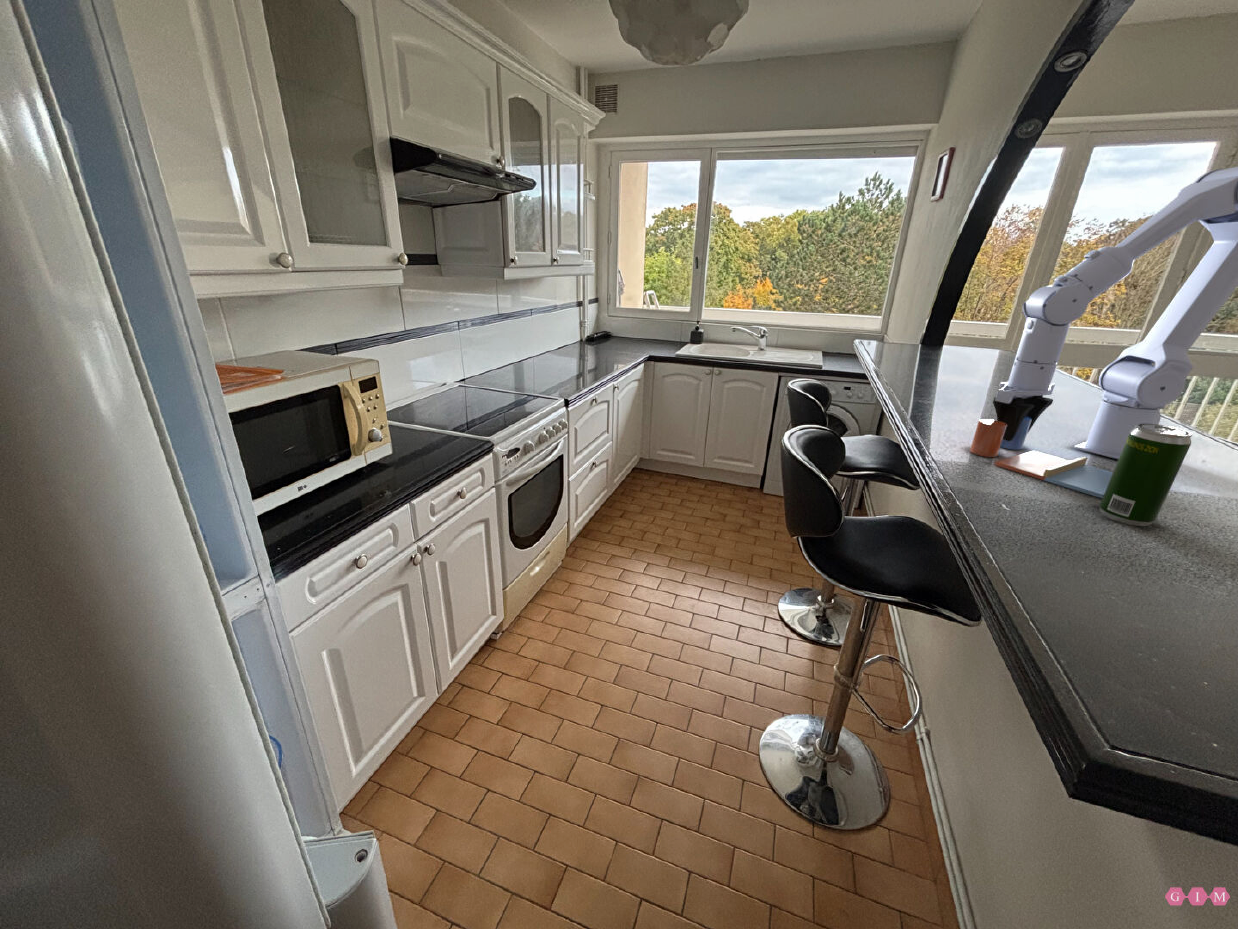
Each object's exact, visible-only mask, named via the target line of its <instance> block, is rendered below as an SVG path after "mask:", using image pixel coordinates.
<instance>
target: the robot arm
mask: <svg viewBox="0 0 1238 929" xmlns="http://www.w3.org/2000/svg"><path fill="white" fill-rule="evenodd" d="M1195 222H1199V223H1200V224H1201V225H1202V226H1203V227H1204V228H1205V229H1206V230H1207V231H1208V232H1209V233H1210V235H1211V237H1212V239H1213V244H1212V245H1211V246H1210V248H1209V249H1208V250H1207V252H1206V253H1205V255H1203V257H1202V259H1201V260H1200V261H1199V263H1198V265H1197V266H1196V267H1195V268H1194V269H1193V271H1192V273H1191V274H1190V275H1189V276H1188V278H1187V279H1186V281H1185V282H1184V284H1183V285H1182V287H1181V288H1180V289H1179V291H1178V292H1177V293H1176V295H1175V296H1174V297H1173V298H1172V300H1171V302H1170V303H1169V304H1168V305H1167V307H1166V308H1165V310H1164V311H1163V313H1162V314H1161V315H1160V317H1159V318H1158V320H1157V321H1156V322H1155V324H1154V325H1153V327H1151V329H1150V331H1149V332H1148V333H1147V335H1146V336H1145V338H1144V339H1143V340H1141V341H1139V342H1138V343H1135V344H1133V345H1131V346H1129V347H1126V348H1125V349H1124V350H1123V351H1122V352H1121V354H1120V355H1119V356H1118V357H1117V358H1116V359H1115V360H1114V361H1111V363H1109V364H1107V365H1106V366H1105V367H1104V368H1103V369H1102V371H1101V372H1100V375H1099V377H1098V385H1099V388H1100V389H1101V390H1102V393H1101V398H1102V400H1101V401H1100V405H1099V408H1098V410H1097V412H1096V414H1095V418H1094V421H1093V423H1092V426H1091V429H1090V431H1089V434H1088V436H1087V439H1086V441H1085V442H1082V443H1079V444H1075V445H1074V446H1073V448H1074V449H1075V450H1079V451H1080V450H1081V451H1084V452H1088V453H1092V454H1096V455H1100V456H1103V457H1107V458H1111V459H1116V460H1119V457H1120V455H1121V452H1122V450H1123V447H1124V445H1125V443H1126V440H1127V438H1128V435H1129V433H1130V431H1131V430H1132V429H1134V428H1135V425H1136V424H1138V423H1149V424H1159V425H1160V422H1161V419H1162V417H1161V411H1160V410H1164V409H1165V407H1166V406H1167V405H1169V404H1171V403H1172V402H1174V401H1176V399H1178V398H1179V397H1180V395H1181V394H1182V393H1183V392H1184V389H1185V387H1186V386H1185V385H1186V381H1187V378H1188V376H1189V375H1190V373H1191V372H1192V371H1193V369H1194V364H1193V363H1192V360H1191V358H1190V357H1189V354H1188V352H1189V350H1190V349H1191V348H1192V346H1193V345H1194V343H1195V342H1196V341H1197V340H1198V338H1200V336H1201V334H1202V333H1203V332H1204V331H1205V329H1207V326H1208V325H1209V324H1210V323H1211V321H1212V320H1214V318H1215V316H1216V315H1217V314H1218V313H1219V311H1220V310H1221V308H1222V307H1223V306H1224V304H1226V302H1227V301H1228V299H1229V298H1230V297H1231V296H1232V294H1233V293H1234V291H1235V290H1236V289H1237V287H1238V166H1234V167H1228V168H1215V169H1213V170H1209V171H1207V172H1205V173H1203V174H1202V175H1200V176H1199V177H1198V178H1196V180H1194V182H1192V183H1190V184H1188V185H1186V186H1184V187H1183V188H1182V189H1180V191H1179V192H1178V193H1177V195H1176V197H1175V198H1174V199H1172V200H1171V201H1170V202H1169V203H1167V204H1166V205H1165V206H1164V207H1162V209H1160V210H1159V211H1158V212H1156V213H1155V214H1154V215H1152V216H1151V217H1150V218H1149V219H1148V220H1146V221H1144V223H1142V225H1140V226H1139V227H1138V228H1136V229H1135V230H1134V231H1133V232H1131V233H1130V234H1129V235H1128V236H1127V237H1126V238H1124V239H1123V240H1121V241H1120V242H1119V243H1118V244H1117V245H1115V246H1102V247H1100V248H1098V249H1092V250H1089V252H1087V253H1086V254H1084V255H1083V258H1084V260H1082V261H1081V262H1080V263H1078V264H1077V265H1075V266H1074V267H1073V268H1071V269H1070V270H1069V271H1067V272H1065V274H1060V275H1058V276H1057V277H1055V278H1054V280H1053V281H1054V282H1053V283H1052V285H1046V286H1042V287H1039V288H1038V289H1036V290H1034V291H1033V292H1032V293H1031V294H1030V295H1029V297H1028V299H1027V300H1026V301H1024V302H1023V303H1022V313H1023V315H1024V318H1025V323H1024V326H1023V328H1024V329H1023V331H1022V333H1021V334H1022V335H1021V337H1020V341H1019V345H1018V348H1017V351H1016V355H1015V357H1014V361H1013V364H1012V367H1011V371H1010V374H1009V377H1008V380H1007V381H1001V382H999V386H998V387H1000V388H1001V389H1000V388H999V389H998V390H997V393H996V396H994V397H993V398H992V404H993V407H994V409H995V410H994V411H995V414H996V421H1001V422H1004V423H1006V424H1007V427H1006V430H1005V434H1004V437H1003V440H1007V441H1012V439H1013V438H1014V436H1015V435H1016V433H1017V431H1018V428H1019V426H1020V424H1021V422H1022V421H1023V419H1024V418H1025V416H1028V417H1031V418H1032V420H1031V423H1030V426H1029V429H1028V432H1027V435H1028V434H1029V432H1030V430H1031V429H1032V428H1033V426H1034V424H1035V423H1036V421H1037V420H1038V418H1039V417H1040V416H1041V415H1042V414H1043V413H1044V412H1045V411H1046V410H1047V409H1048V408H1049V407H1050V406H1051V405H1052V404H1053V402H1054V399H1053V398H1050V397H1045V396H1051V395H1052V394H1053V391H1054V389H1055V385H1056V384H1055V383H1052V380H1053V378H1054V375H1055V371H1056V368H1057V365H1058V363H1059V359H1060V357H1061V353H1062V350H1063V348H1064V345H1065V342H1066V339H1067V336H1068V334H1069V330H1070V327H1071V324H1072V322H1074V321H1076V320H1078V319H1080V318H1081V317H1082V316H1084V314H1085V313H1086V311H1087V309H1088V306H1089V304H1090V303H1091V302H1093V300H1094V299H1096V298H1098V297H1099V296H1100V295H1101V294H1103V293H1105V292H1106V291H1107V290H1109V289H1110V288H1112V287H1113V286H1114V285H1116V284H1117V283H1119V282H1120V281H1122V280H1123V279H1124V278H1125V277H1127V276H1128V275H1130V274H1131V272H1132V270H1133V267H1134V262H1135V261H1136V260H1137V259H1139V258H1142V256H1144V255H1145V254H1147V253H1148V252H1150V251H1152V250H1153V249H1155V248H1157V247H1158V246H1159V245H1161V244H1163V243H1164V242H1165V241H1167V240H1168V239H1170V238H1171V237H1173V236H1174V235H1176V234H1178V233H1179V232H1181V231H1182V230H1184V229H1186V228H1187V227H1188V226H1190V225H1191V224H1193V223H1195Z"/></svg>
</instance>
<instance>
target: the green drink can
mask: <svg viewBox="0 0 1238 929" xmlns="http://www.w3.org/2000/svg"><path fill="white" fill-rule="evenodd" d="M1192 437H1193V432H1191V431H1189V430H1186V429H1183V428H1180V427H1176V426H1170V425H1164V424H1160V423H1159V424H1149V423H1138V424H1136V425H1135V428H1134V429H1132V430H1131V431H1130V433H1129V435H1128V438H1127V440H1126V443H1125V445H1124V447H1123V450H1122V452H1121V455H1120V457H1119V459H1117V462H1116V463H1115V464H1116V465H1115V467H1114V469H1113V471H1112V472H1113V474H1112V477H1111V479H1110V481H1109V484H1108V486H1107V489H1106V491H1105V493H1104V496H1103V498H1101V500H1100V503H1099V512H1100V514H1101V515H1103V517H1106V518H1107V519H1109V520H1111V521H1115V522H1117V523H1121V524H1125V525H1129V526H1135V527H1147V526H1150V525H1152V524H1153V523H1154V522H1156V520H1157V518H1158V516H1159V514H1160V512H1161V510H1162V507H1163V505H1164V503H1165V501H1166V499H1167V497H1168V495H1169V492H1170V490H1171V488H1172V486H1173V484H1174V482H1175V480H1176V477H1177V475H1178V474H1179V471H1180V469H1181V467H1182V465H1183V462H1184V460H1185V458H1186V457H1187V456H1186V455H1187V454H1188V452H1189V450H1190V448H1191V446H1192V439H1191V438H1192Z"/></svg>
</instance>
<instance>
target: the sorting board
mask: <svg viewBox="0 0 1238 929" xmlns="http://www.w3.org/2000/svg"><path fill="white" fill-rule="evenodd" d="M1087 460H1088V457H1086V456H1081V457H1080V456H1079V457H1077V458H1074V459H1071V460H1070V459H1066V458H1063V457H1059V456H1054V455H1051V454H1047V453H1044V452H1041V451H1038V450H1031V451H1030V450H1029V451H1027V452H1024V453H1020V454H1015V455H1013V456H1010V457H1007V458H1006V457H1005V458H1003V459H1000V460H997V461H995V462H994V464H993V465H994V466H995V467H999V468H1003V469H1006V470H1009V471H1013V472H1015V473H1018V474H1022V475H1025V476H1028V477H1031V478H1035V479H1038V480H1041V481H1044V482H1048V483H1051V484H1054V485H1057V486H1060V487H1064V488H1066V489H1070V490H1073V491H1077V492H1079V493H1082V494H1087V495H1089V496H1092V497H1096V498H1099V499H1102V498H1103V496H1104V493H1105V491H1106V489H1107V486H1108V484H1109V481H1110V479H1111V477H1112V474H1113V472H1114V471H1110V470H1106V469H1102V468H1099V467H1095V466H1091V465H1088V464H1087Z"/></svg>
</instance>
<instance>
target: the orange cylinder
mask: <svg viewBox="0 0 1238 929" xmlns="http://www.w3.org/2000/svg"><path fill="white" fill-rule="evenodd" d="M1006 427H1007V424H1006V423H1004V422H1001V421H997V419H991V418H990V419H989V418H983V419H982V418H981V419H978V421H977V425H976V428H975V432H974V436H973V438H972V442H971V444H970V448H969V453H972V454H974V455H977V456H980V457H986V458H995V457H998V455H999V452H1000V449H1001V447H1000V446H1001V443H1002V440H1003V437H1004V434H1005V430H1006Z"/></svg>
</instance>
